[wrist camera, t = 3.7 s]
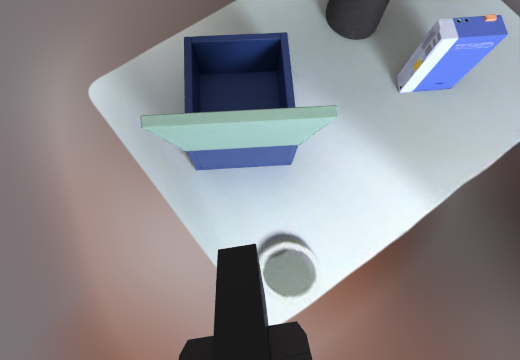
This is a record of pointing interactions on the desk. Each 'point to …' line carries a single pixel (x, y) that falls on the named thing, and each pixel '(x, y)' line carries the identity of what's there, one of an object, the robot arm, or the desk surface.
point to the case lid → (239, 127)
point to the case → (238, 89)
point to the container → (355, 16)
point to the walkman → (450, 52)
